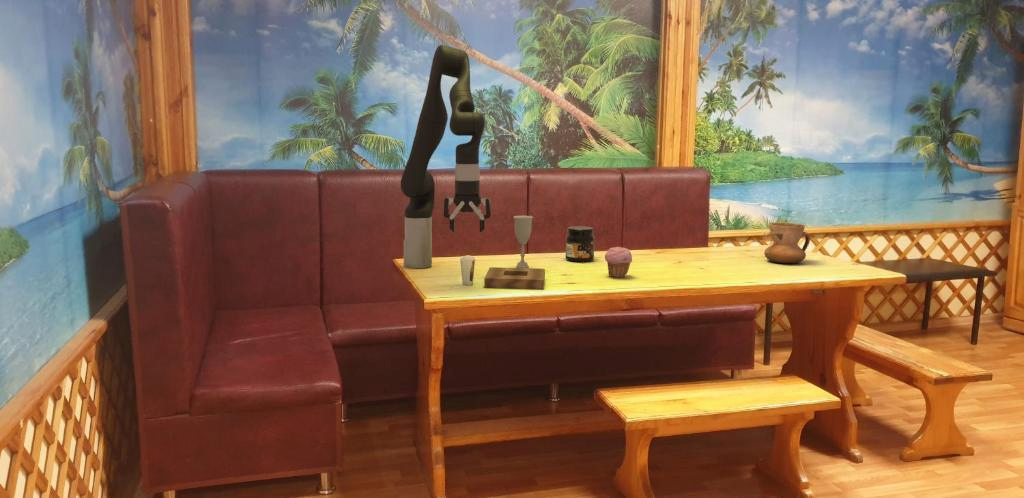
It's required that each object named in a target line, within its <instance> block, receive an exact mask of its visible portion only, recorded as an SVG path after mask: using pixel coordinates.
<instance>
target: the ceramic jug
mask: <svg viewBox="0 0 1024 498" xmlns="http://www.w3.org/2000/svg"><path fill="white" fill-rule="evenodd" d="M805 227H806V225H805V224H803V223H797V222H788V221H787V222H786V221H783V222H781V221H775V222H770V223H769V227H768V228H769V231H766V232H764V233H763V236H764V237H769V236H770V237H771V238H772V241H773V243H772V244H771V245H770V246H768V247H766V248H765V250H764V257H765V258H766V259H767V260H768V261H770V262H773V263H775V264H785V265H787V264H788V265H789V264H790V265H791V264H796V263H797V264H798V263H799V262H802V261H804V260H805V259H806V258H807V257H806V256H807V255H806V251H807V249H808V247H809V245H810V241H811V235H810V234H809V232H808V231H805ZM803 236H805V240H804V244H803V246H802V247H800V246H799V245H798V244H799V242H800V240H801V238H802V237H803Z"/></svg>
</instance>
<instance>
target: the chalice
mask: <svg viewBox="0 0 1024 498" xmlns="http://www.w3.org/2000/svg"><path fill="white" fill-rule="evenodd" d="M533 218H534V216H532V215H513V220H514V234H515V237H516V239H517V241H518V243H519V244H520V246H521V247H520V252H521V253H520V258H521V259H520V261H518V262H517V264H516V267H515V268H530V266H529V265H528V262H527V261H525V256H526V255H525V251H526V249H525V245H526V244H527V243H528V241H529V239H530V237H531V234H532V229H533V228H532V226H533V224H532V223H533V222H532V221H533Z"/></svg>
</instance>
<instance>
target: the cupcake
mask: <svg viewBox="0 0 1024 498" xmlns="http://www.w3.org/2000/svg"><path fill="white" fill-rule="evenodd" d="M604 259H605V262H606V263H607V270H608V275H609V276H610V277H613V278H616V279H622V278H625V276H627V274H628V272H629V269H630V265H631V263H632V262H633V256H632V253H631V251H630V250H629V249H628V248H626V247H622V246H616V247H610V248H609V249H608V250H607V251H606V253H605V254H604Z"/></svg>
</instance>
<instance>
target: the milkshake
mask: <svg viewBox="0 0 1024 498" xmlns="http://www.w3.org/2000/svg"><path fill="white" fill-rule="evenodd" d="M457 255H458V256H460V255H459V253H457ZM459 260H460V269H461V270H460V271H461V284H462V286H465V287H466V286H467V287H468V286H473V285H474V278H475V277H474V274H475V264H476V258H475V257H474V256H472V255H469V254H468V255H463V256H461V257H460V258H459Z"/></svg>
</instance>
